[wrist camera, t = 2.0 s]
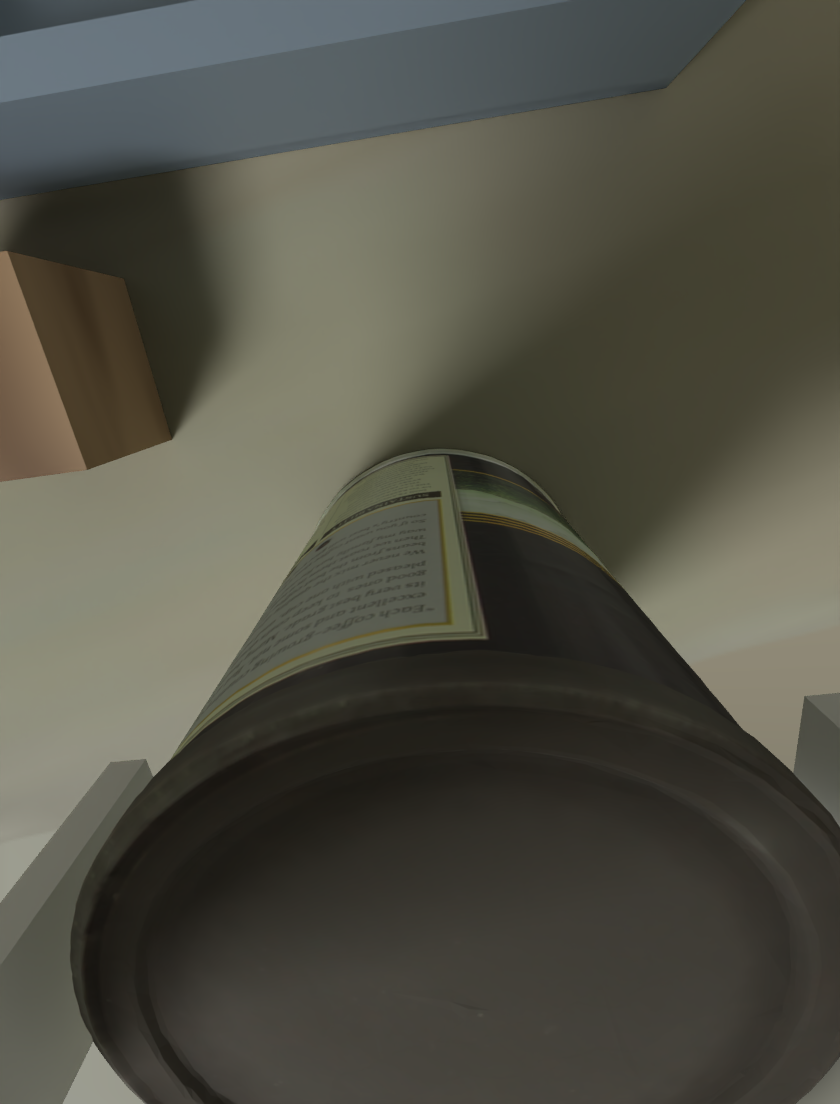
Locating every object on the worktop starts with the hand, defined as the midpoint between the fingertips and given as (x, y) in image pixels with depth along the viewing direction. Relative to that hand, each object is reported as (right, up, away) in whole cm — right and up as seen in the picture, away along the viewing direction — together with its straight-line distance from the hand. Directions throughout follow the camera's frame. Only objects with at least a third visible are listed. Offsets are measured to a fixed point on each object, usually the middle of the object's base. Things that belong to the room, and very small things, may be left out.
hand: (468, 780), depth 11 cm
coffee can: (0, +4, +9) cm, 10 cm away
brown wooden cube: (-12, +11, +7) cm, 18 cm away
